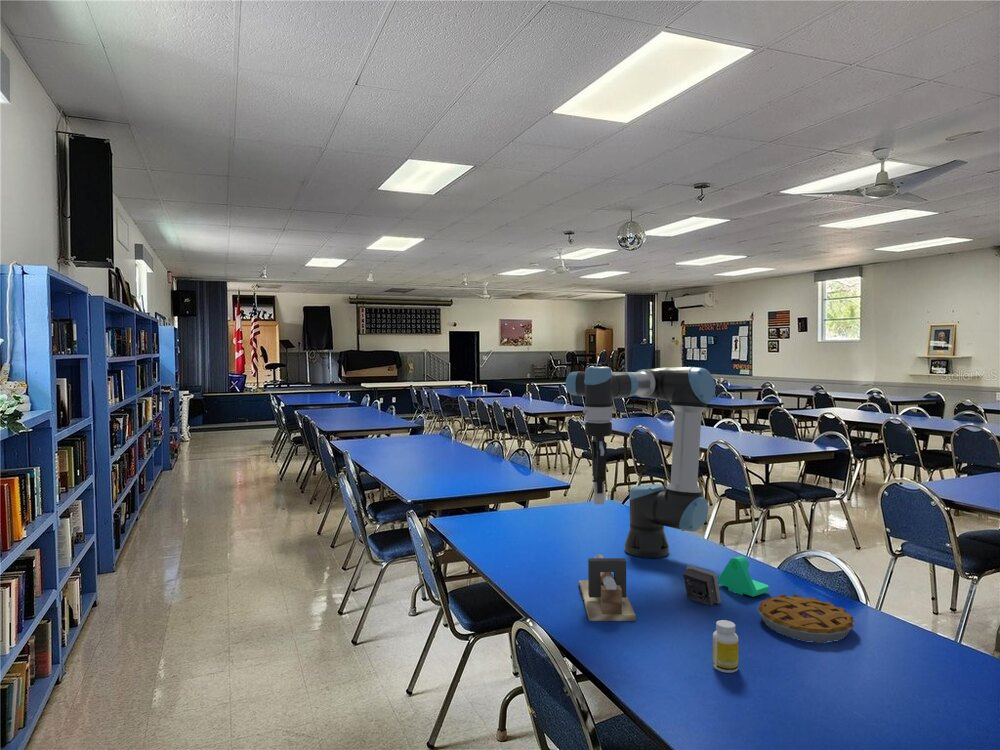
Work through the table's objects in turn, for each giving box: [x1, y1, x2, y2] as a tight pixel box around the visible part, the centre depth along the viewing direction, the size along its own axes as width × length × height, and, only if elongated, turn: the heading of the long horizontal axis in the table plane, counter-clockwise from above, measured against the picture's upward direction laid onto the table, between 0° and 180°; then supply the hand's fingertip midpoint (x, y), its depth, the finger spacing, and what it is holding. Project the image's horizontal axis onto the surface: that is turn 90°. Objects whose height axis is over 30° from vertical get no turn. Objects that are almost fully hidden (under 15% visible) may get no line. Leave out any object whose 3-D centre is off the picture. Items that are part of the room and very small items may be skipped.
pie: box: [756, 594, 856, 642], centre depth 159 cm, size 22×22×5 cm
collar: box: [587, 557, 627, 598], centre depth 171 cm, size 10×2×10 cm, turn 89°
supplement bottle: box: [712, 619, 740, 674], centre depth 138 cm, size 5×5×10 cm
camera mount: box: [717, 555, 770, 597], centre depth 183 cm, size 12×8×10 cm, turn 31°
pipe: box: [594, 553, 618, 595], centre depth 175 cm, size 3×24×3 cm, turn 179°
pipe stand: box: [578, 576, 637, 622], centre depth 175 cm, size 12×25×8 cm, turn 179°
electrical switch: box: [682, 564, 722, 607], centre depth 175 cm, size 9×5×9 cm, turn 38°
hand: (599, 503), depth 178 cm, fingers closed
